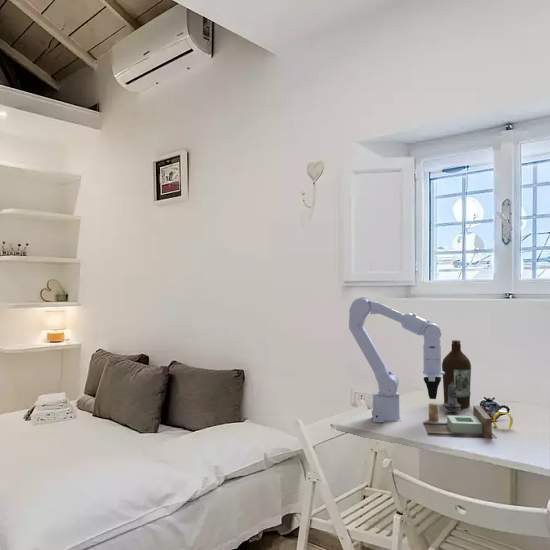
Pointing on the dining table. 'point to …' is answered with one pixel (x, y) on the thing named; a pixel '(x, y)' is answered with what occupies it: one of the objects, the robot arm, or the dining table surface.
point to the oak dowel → (433, 412)
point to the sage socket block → (464, 424)
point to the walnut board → (486, 432)
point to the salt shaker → (452, 400)
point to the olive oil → (457, 374)
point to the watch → (502, 413)
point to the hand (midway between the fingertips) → (432, 398)
